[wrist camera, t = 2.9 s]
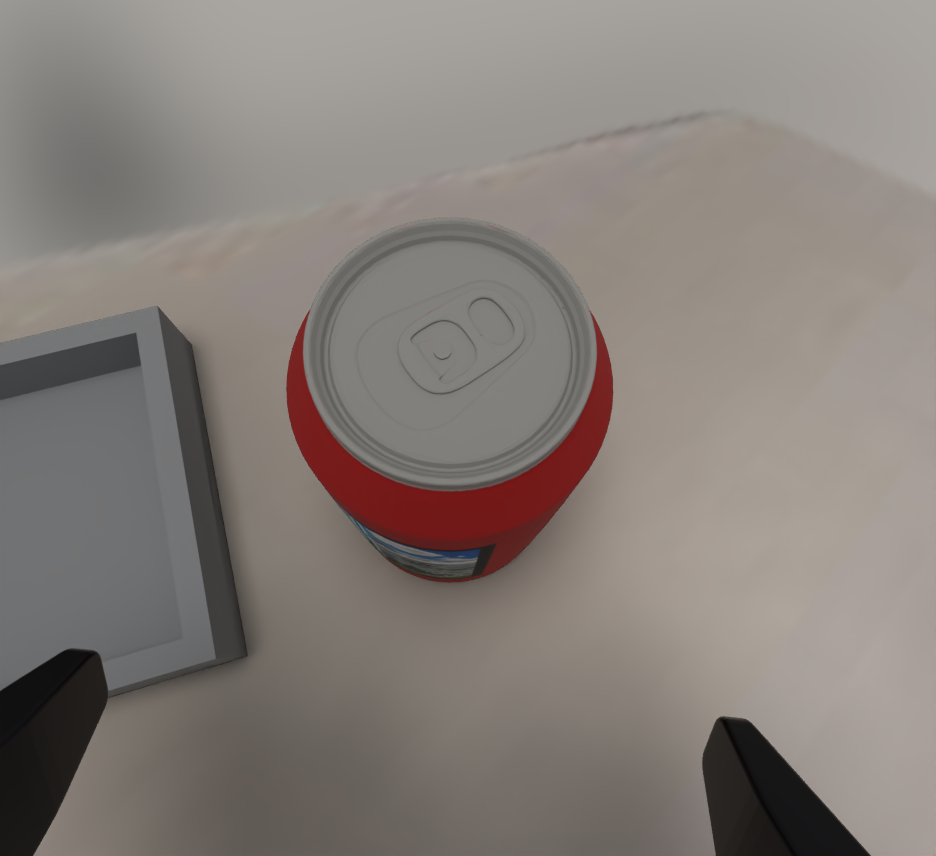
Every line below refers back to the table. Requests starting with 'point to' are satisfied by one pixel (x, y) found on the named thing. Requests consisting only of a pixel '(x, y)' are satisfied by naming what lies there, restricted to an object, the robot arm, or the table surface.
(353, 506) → the beverage can
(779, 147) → the table surface
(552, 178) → the table surface
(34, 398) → the coaster tray
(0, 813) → the robot arm
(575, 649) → the table surface
